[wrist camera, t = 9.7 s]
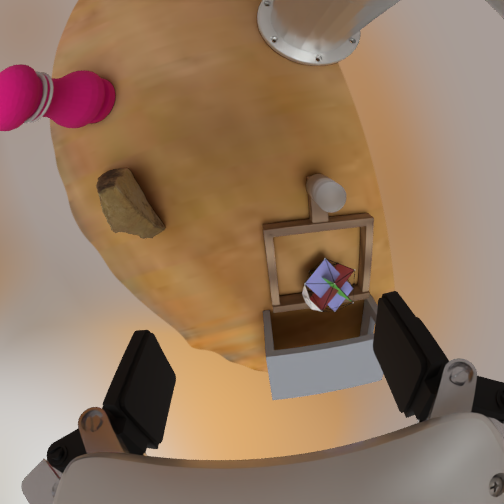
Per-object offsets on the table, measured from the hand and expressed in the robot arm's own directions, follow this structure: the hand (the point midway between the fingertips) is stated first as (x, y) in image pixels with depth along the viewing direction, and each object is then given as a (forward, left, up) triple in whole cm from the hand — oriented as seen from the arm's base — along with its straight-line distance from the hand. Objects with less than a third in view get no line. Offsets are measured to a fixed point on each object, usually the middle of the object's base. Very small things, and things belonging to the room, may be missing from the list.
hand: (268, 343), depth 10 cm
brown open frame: (+7, +7, -24) cm, 26 cm away
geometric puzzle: (+12, +8, -25) cm, 29 cm away
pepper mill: (-17, -19, -25) cm, 35 cm away
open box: (+22, +7, -25) cm, 34 cm away
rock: (-2, -16, -25) cm, 30 cm away
